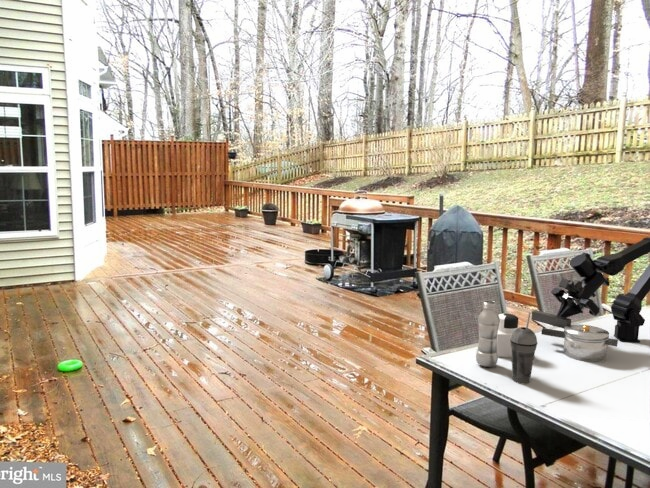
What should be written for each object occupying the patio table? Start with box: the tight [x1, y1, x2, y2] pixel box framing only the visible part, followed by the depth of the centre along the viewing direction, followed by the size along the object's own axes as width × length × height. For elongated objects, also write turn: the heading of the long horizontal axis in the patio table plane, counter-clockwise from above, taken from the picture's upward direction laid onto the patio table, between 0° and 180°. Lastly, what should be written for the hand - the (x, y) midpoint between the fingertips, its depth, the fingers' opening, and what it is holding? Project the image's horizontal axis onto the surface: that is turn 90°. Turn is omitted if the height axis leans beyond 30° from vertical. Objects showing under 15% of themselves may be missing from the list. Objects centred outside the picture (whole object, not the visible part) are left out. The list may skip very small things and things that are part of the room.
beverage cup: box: [510, 311, 538, 385], centre depth 145 cm, size 7×7×20 cm
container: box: [497, 313, 519, 358], centre depth 167 cm, size 8×8×13 cm
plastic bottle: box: [475, 300, 500, 368], centre depth 156 cm, size 6×7×20 cm
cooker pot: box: [540, 327, 619, 363], centre depth 168 cm, size 22×13×7 cm, turn 57°
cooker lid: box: [530, 309, 610, 341], centre depth 171 cm, size 26×13×3 cm, turn 34°
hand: (557, 318), depth 176 cm, fingers closed
